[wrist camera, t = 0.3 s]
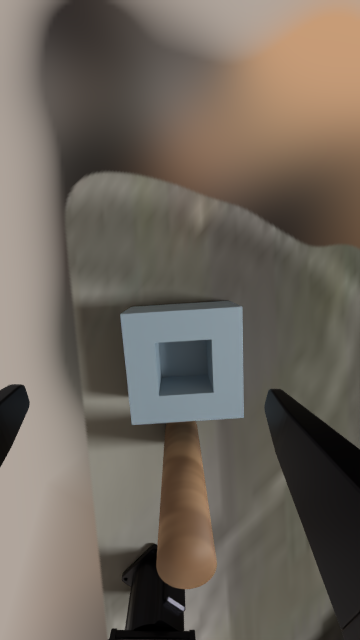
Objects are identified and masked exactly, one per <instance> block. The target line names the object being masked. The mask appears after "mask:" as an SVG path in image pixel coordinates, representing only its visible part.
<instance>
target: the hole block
mask: <svg viewBox="0 0 360 640" xmlns="http://www.w3.org/2000/svg"><path fill="white" fill-rule="evenodd" d="M120 317H121V327H122V336H123V346H124V355H125V365H126V374H127V384H128V393H129V403H130V412H131V422H132V425H140V424H155V423H170V422H186V421H201V420H217V419H232V418H244V400H243V324H242V306H240V305H237V304H235V303H233V302H231V301H215V302H199V303H183V304H166V305H150V306H134V307H130V308H129V309H127V310H126V311H124V312H123V313H121V314H120Z"/></svg>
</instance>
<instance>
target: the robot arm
mask: <svg viewBox="0 0 360 640" xmlns="http://www.w3.org/2000/svg"><path fill="white" fill-rule="evenodd" d="M28 408H29V399H28V395H27V392H26V389H25V386H24V385H19V384H14V385H9V386H7V387H5V388H3V389H1V390H0V467H1V465H2V463H3V461H4V460H5V457H6V456H7V454H8V452H9V450H10V448H11V446H12V444H13V442H14V440H15V437H16V435H17V433H18V431H19V429H20V426H21V424H22V422H23V420H24V418H25V415H26V413H27V411H28ZM265 414H266V418H267V421H268V425H269V429H270V433H271V437H272V441H273V445H274V448H275V452H276V455H277V458H278V460H279V463H280V466H281V469H282V471H283V474H284V477H285V479H286V482H287V485H288V487H289V490H290V493H291V495H292V498H293V501H294V504H295V506H296V509H297V512H298V514H299V517H300V520H301V522H302V525H303V528H304V531H305V533H306V536H307V539H308V541H309V544H310V547H311V549H312V552H313V555H314V557H315V560H316V563H317V566H318V568H319V571H320V574H321V576H322V579H323V582H324V584H325V587H326V590H327V593H328V595H329V598H330V601H331V603H332V606H333V609H334V611H335V614H336V617H337V620H338V622H339V625H340V628H341V629H342V634H343V636H344V639H345V640H360V449H359V448H357V447H356V446H355V445H353V444H352V443H351V442H349V441H348V440H347V439H346V438H344V437H343V436H342V435H340V434H339V433H338V432H336V431H335V430H334V429H332V428H331V427H330V426H329V425H327V424H326V423H325V422H323V421H322V420H321V419H319V418H318V417H317V416H315V415H314V414H313V413H311V412H310V411H309V410H308V409H306V408H305V407H304V406H302V405H301V404H300V403H298V402H297V401H296V400H294V399H293V398H292V397H291V396H289V395H288V394H287V393H285V392H284V391H283V390H281V389H270V390H269V391H268V394H267V398H266V402H265ZM157 548H158V546H157V545H153V546H151V547H150V548H149V549H148V550H147V551H146V552H145V553H144V554H143V555H142V556H141V557H140V558H139V559H138V560H137V561H136V562H135V563H134V564H133V565H131V566H130V567H129V568H128V569H127V570H126V571H125V572H124V573H123V575H122V581H123V582H124V583H126V584H127V585H129V586H131V591H130V598H129V605H128V612H127V619H126V626H125V630H117V629H112V630H111V634H110V639H109V640H195V630H189V631H184V611H185V589H180V588H175V587H172V586H170V585H168V584H167V583H165V582H164V581H163V580H162V579H161V578H160V576H159V574H158V572H157V568H156V563H157Z"/></svg>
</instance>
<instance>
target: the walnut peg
mask: <svg viewBox="0 0 360 640" xmlns="http://www.w3.org/2000/svg"><path fill="white" fill-rule="evenodd" d="M216 567H217V562H216V554H215V547H214V540H213V534H212V527H211V520H210V513H209V506H208V499H207V492H206V485H205V478H204V471H203V464H202V457H201V450H200V443H199V436H198V429H197V424H196V422H195V421H186V422H170V423H167V424H166V428H165V442H164V457H163V472H162V487H161V503H160V518H159V533H158V548H157V563H156V568H157V572H158V574H159V576H160V578H161V579H162V580H163V581H164V582H165V583H167V584H168V585H170V586H172V587H175V588H180V589H192V588H196V587H199V586H201V585H203V584H205V583H206V582H208V581H209V580H210V579H211V578H212V576H213V575H214V573H215V571H216Z"/></svg>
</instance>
